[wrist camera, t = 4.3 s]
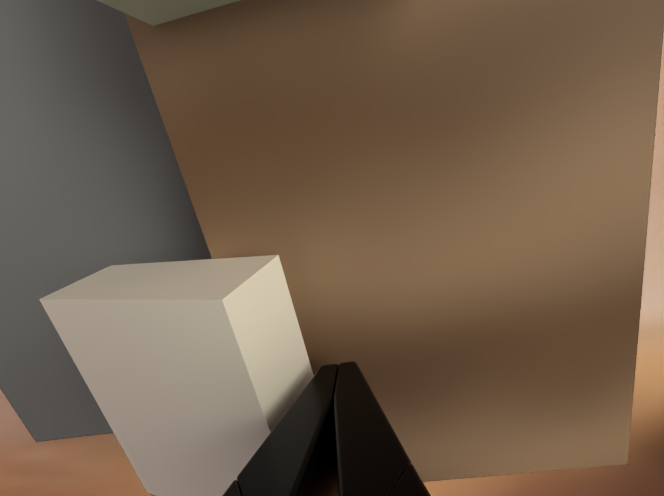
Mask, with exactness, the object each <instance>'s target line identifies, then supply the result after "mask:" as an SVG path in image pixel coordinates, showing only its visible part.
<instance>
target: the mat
mask: <svg viewBox="0 0 664 496" xmlns="http://www.w3.org/2000/svg"><path fill="white" fill-rule="evenodd" d="M204 259H212V257H211V254H210V252H209V249H208V246H207V243H206V240H205V238H204V235H203V232H202V229H201V226H200V224H199V221H198V218H197V215H196V212H195V210H194V207H193V204H192V201H191V198H190V196H189V193H188V190H187V187H186V184H185V182H184V179H183V176H182V173H181V170H180V168H179V165H178V162H177V159H176V157H175V154H174V151H173V148H172V145H171V143H170V140H169V137H168V134H167V131H166V129H165V126H164V123H163V120H162V117H161V115H160V112H159V109H158V106H157V103H156V101H155V98H154V95H153V92H152V89H151V87H150V84H149V81H148V78H147V75H146V73H145V70H144V67H143V64H142V61H141V59H140V56H139V53H138V50H137V47H136V45H135V42H134V39H133V36H132V34H131V31H130V28H129V25H128V22H127V20H126V17H125V14H124V13H123V12H121V11H119V10H117V9H115V8H112V7H110V6H108V5H106V4H103V3H101V2H99V1H97V0H0V388H1V390H2V391H3V393H4V394H5V396H6V397H7V399H8V400H9V402H10V404H11V405H12V407H13V408H14V410H15V411H16V413H17V414H18V416H19V417H20V419H21V420H22V422H23V423H24V425H25V426H26V428H27V429H28V431H29V432H30V434H31V435H32V437H33V438H34V440H35V441H36V442H39V441H47V440H56V439H64V438H73V437H81V436H90V435H98V434H107V433H113V431H112V429H111V427H110V425H109V424H108V422H107V420H106V418H105V416H104V415H103V413H102V411H101V409H100V407H99V406H98V404H97V402H96V400H95V398H94V397H93V395H92V393H91V391H90V390H89V388H88V386H87V384H86V382H85V381H84V379H83V377H82V375H81V373H80V372H79V370H78V368H77V366H76V364H75V363H74V361H73V359H72V357H71V355H70V354H69V352H68V350H67V348H66V347H65V345H64V343H63V341H62V339H61V338H60V336H59V334H58V332H57V330H56V329H55V327H54V325H53V323H52V321H51V320H50V318H49V316H48V314H47V312H46V311H45V309H44V307H43V305H42V304H41V302H40V300H39V299H41V298H43V297H45V296H47V295H49V294H51V293H53V292H56V291H58V290H60V289H62V288H64V287H66V286H68V285H70V284H73V283H75V282H77V281H79V280H81V279H83V278H85V277H87V276H90V275H92V274H94V273H96V272H98V271H100V270H102V269H104V268H107V267H109V266H111V265H124V264H140V263H156V262H172V261H188V260H204Z"/></svg>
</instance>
